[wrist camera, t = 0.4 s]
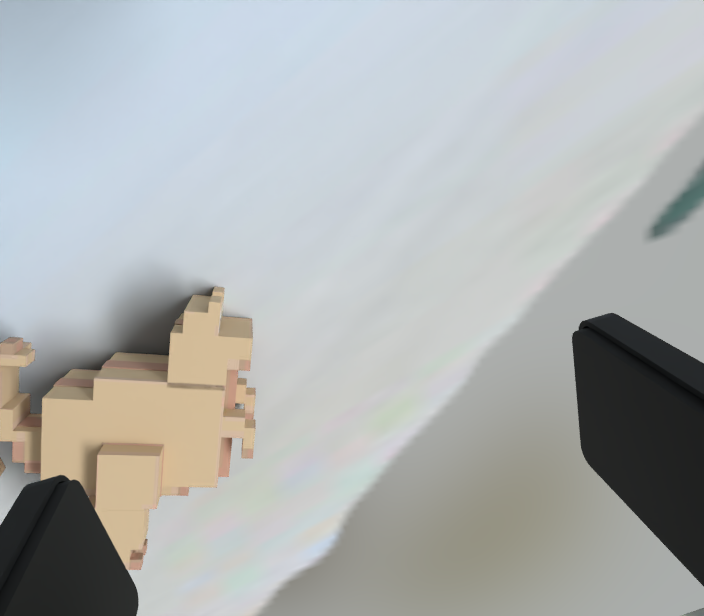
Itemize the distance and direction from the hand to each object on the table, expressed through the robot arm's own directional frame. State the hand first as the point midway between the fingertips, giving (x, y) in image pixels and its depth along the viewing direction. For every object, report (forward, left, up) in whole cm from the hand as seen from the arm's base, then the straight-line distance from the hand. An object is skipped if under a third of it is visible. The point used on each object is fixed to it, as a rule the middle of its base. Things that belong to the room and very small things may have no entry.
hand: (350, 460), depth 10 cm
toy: (+13, -15, -35) cm, 41 cm away
